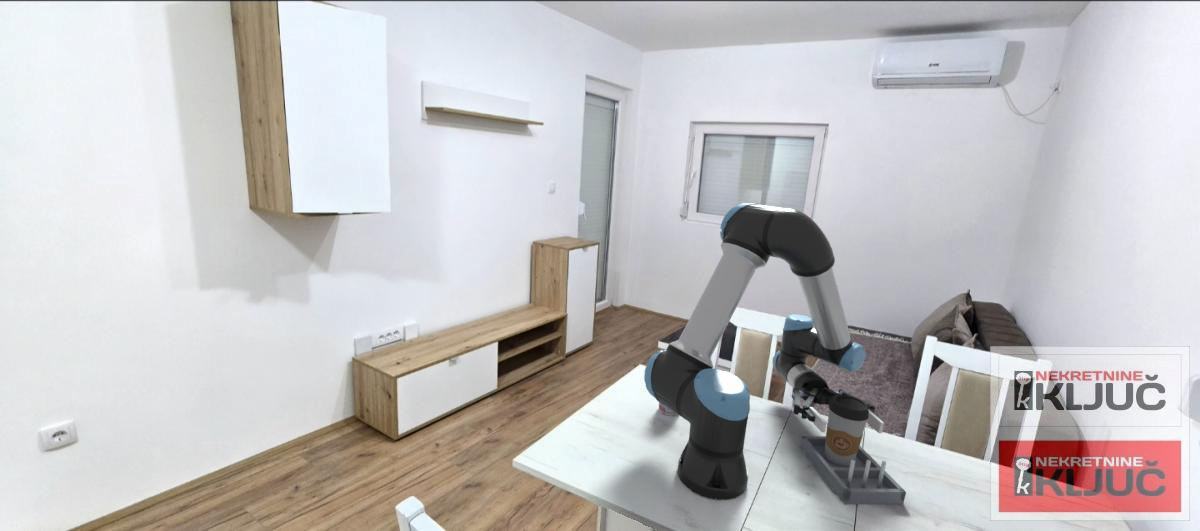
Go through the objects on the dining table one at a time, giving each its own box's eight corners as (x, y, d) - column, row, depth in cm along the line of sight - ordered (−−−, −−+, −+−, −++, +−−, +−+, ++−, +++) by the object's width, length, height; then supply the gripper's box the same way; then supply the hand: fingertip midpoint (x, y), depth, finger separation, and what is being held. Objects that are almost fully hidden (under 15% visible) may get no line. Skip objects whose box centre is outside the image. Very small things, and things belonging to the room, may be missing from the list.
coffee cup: (816, 461, 111) (827, 403, 108) (822, 444, 118) (832, 389, 115) (856, 475, 107) (869, 416, 103) (860, 457, 114) (872, 401, 110)
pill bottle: (656, 405, 135) (659, 368, 132) (677, 404, 136) (680, 368, 133) (661, 416, 129) (664, 378, 127) (683, 416, 130) (687, 378, 127)
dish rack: (799, 446, 118) (803, 419, 117) (849, 447, 119) (854, 420, 118) (844, 504, 99) (850, 472, 97) (903, 504, 100) (910, 473, 98)
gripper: (849, 397, 130) (901, 442, 109) (761, 395, 128) (797, 441, 108) (854, 371, 128) (908, 413, 108) (764, 369, 127) (802, 411, 106)
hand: (853, 427), depth 108 cm, fingers open, 13 cm apart
